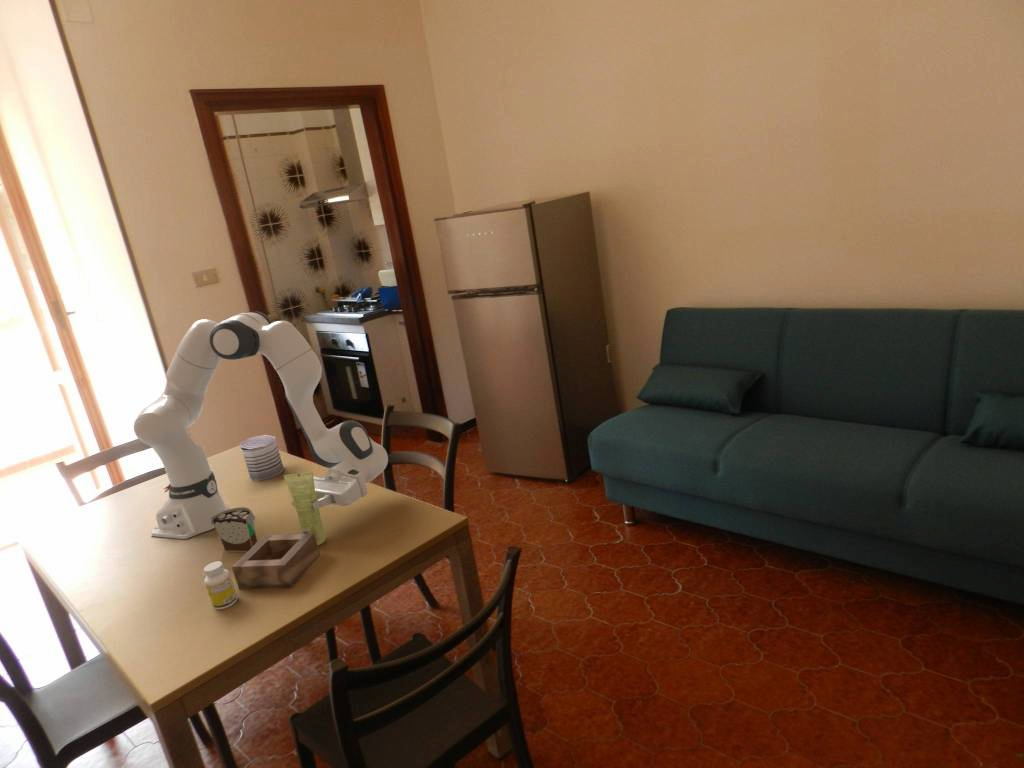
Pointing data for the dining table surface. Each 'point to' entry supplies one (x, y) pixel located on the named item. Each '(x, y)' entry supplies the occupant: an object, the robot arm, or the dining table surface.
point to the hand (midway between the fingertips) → (303, 505)
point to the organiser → (276, 561)
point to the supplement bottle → (219, 586)
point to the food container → (235, 529)
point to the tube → (305, 503)
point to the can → (262, 457)
